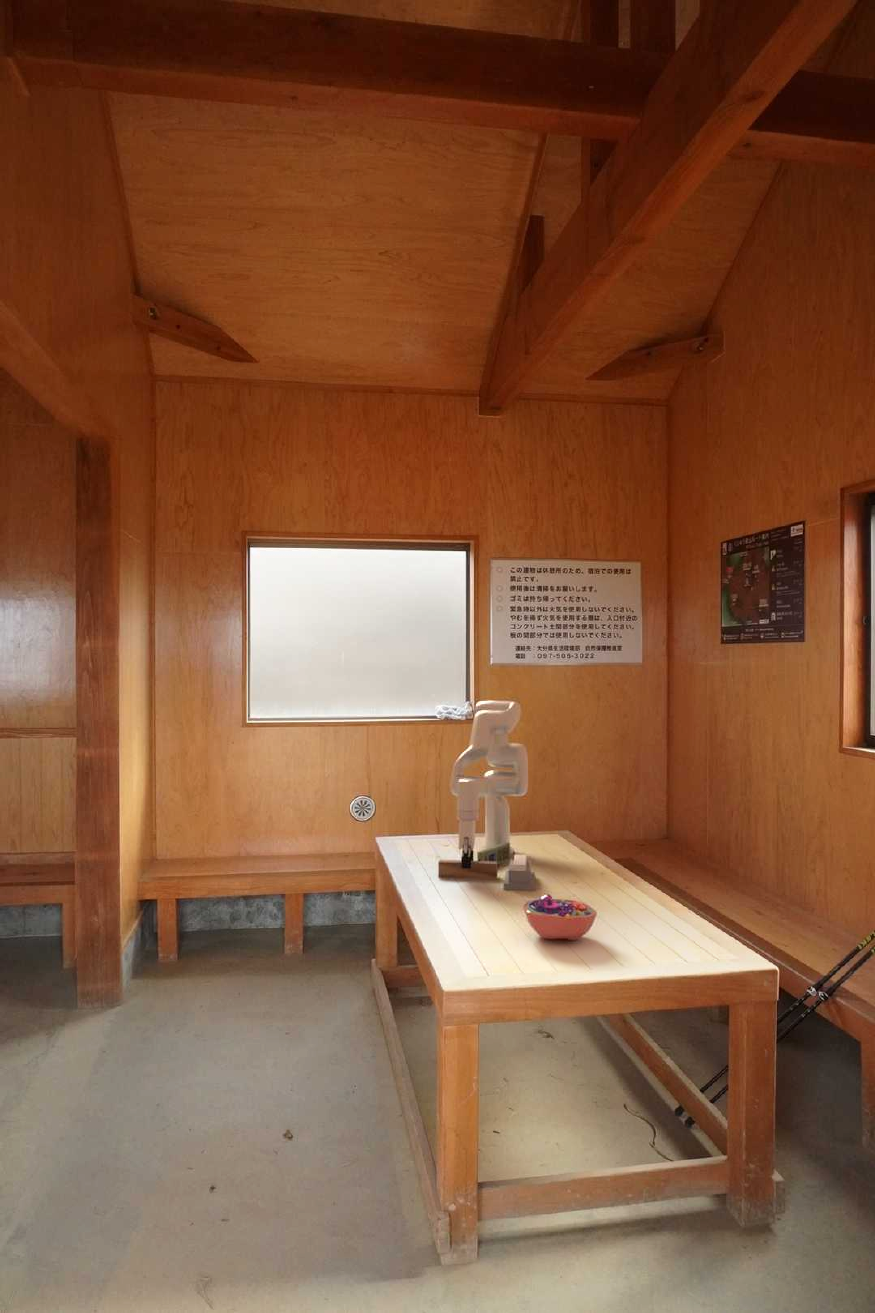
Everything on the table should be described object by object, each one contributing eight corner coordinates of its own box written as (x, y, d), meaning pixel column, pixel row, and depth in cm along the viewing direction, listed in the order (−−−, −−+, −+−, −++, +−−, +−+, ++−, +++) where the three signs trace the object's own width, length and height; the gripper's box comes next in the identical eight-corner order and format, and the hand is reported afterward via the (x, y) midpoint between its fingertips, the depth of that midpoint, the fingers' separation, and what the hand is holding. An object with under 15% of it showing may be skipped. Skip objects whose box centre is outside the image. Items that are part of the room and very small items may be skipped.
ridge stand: (506, 876, 284) (506, 853, 284) (535, 877, 283) (535, 854, 283) (503, 889, 269) (503, 865, 269) (534, 890, 267) (534, 866, 267)
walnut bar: (439, 875, 287) (439, 859, 287) (497, 877, 285) (497, 861, 285) (438, 878, 284) (438, 862, 284) (496, 880, 281) (496, 864, 281)
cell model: (584, 954, 210) (584, 910, 210) (512, 941, 219) (512, 898, 219) (605, 935, 224) (605, 893, 224) (536, 923, 234) (536, 883, 234)
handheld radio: (511, 860, 308) (475, 874, 288) (504, 859, 310) (467, 873, 290) (511, 842, 309) (474, 855, 288) (503, 842, 310) (466, 854, 290)
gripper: (459, 810, 293) (459, 859, 293) (454, 819, 276) (453, 870, 276) (480, 811, 292) (480, 860, 292) (476, 819, 275) (476, 871, 275)
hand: (467, 865), depth 284 cm, fingers open, 9 cm apart
